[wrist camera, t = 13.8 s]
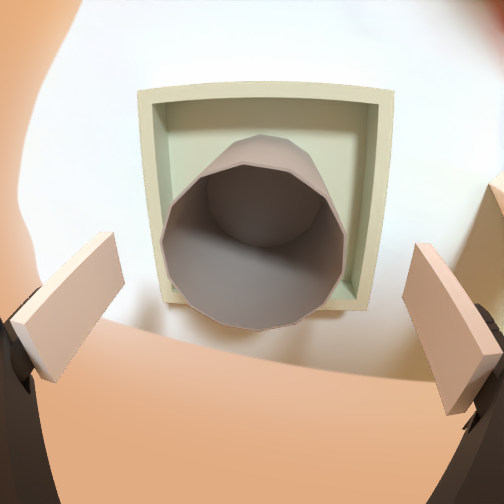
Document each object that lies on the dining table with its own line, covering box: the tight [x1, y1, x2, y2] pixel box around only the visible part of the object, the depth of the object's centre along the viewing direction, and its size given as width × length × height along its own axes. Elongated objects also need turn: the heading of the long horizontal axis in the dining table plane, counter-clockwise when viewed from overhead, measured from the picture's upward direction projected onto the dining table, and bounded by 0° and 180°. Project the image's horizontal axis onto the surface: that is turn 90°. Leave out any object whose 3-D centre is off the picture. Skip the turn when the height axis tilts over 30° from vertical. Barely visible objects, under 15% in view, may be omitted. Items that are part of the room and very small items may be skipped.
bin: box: [137, 81, 394, 311], centre depth 22 cm, size 16×16×4 cm
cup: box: [159, 134, 347, 331], centre depth 19 cm, size 8×8×10 cm
